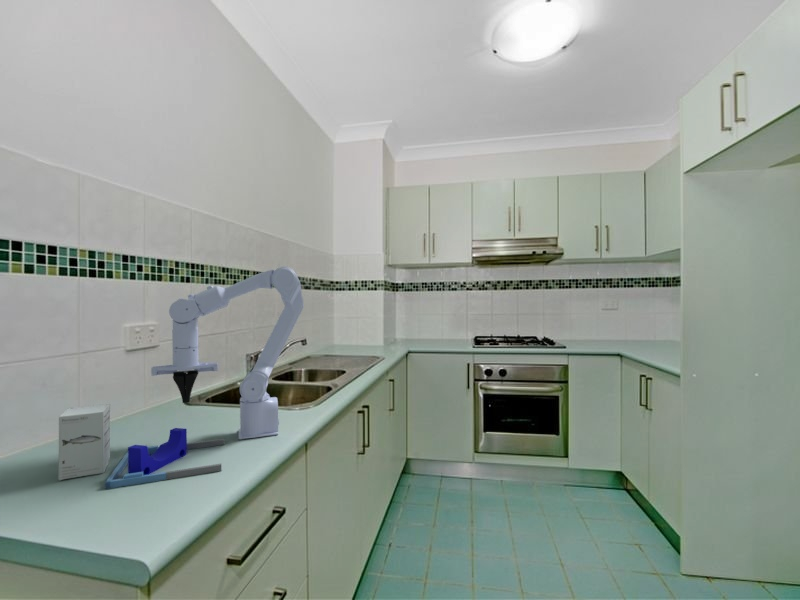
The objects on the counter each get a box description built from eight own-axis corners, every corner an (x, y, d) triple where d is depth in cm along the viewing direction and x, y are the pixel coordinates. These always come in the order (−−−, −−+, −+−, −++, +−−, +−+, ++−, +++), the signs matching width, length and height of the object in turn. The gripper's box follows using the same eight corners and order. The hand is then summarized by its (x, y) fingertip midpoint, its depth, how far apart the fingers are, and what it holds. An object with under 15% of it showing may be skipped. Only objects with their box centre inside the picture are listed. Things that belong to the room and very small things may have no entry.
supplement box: (57, 482, 76) (56, 416, 76) (68, 467, 83) (67, 407, 83) (104, 473, 80) (103, 411, 80) (111, 460, 86) (110, 402, 86)
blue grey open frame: (224, 443, 96) (224, 436, 96) (221, 470, 80) (221, 462, 80) (128, 456, 88) (128, 448, 88) (105, 489, 73) (104, 480, 73)
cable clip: (169, 453, 90) (169, 427, 90) (186, 455, 89) (186, 428, 89) (122, 477, 78) (121, 446, 78) (141, 479, 77) (140, 448, 77)
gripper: (218, 344, 105) (219, 395, 105) (155, 347, 100) (155, 401, 100) (217, 347, 98) (217, 401, 99) (149, 350, 93) (149, 408, 93)
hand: (186, 401), depth 99 cm, fingers closed
